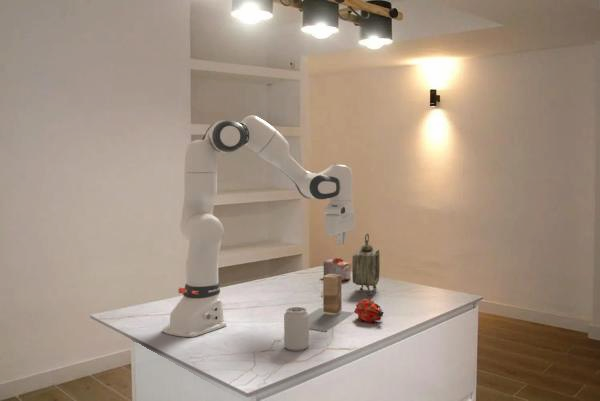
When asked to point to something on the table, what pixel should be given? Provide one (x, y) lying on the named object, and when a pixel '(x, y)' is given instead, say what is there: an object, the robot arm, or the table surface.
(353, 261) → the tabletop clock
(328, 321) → the rubber mat
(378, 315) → the dragon fruit
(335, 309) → the light brown wooden block
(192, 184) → the robot arm
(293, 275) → the table surface
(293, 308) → the can
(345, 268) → the food item
